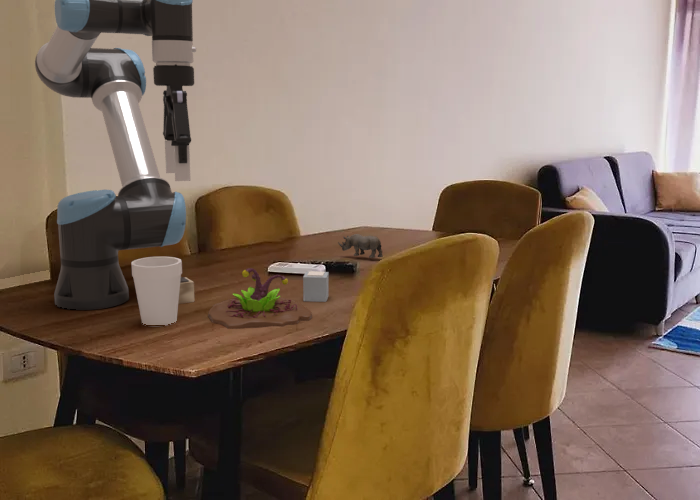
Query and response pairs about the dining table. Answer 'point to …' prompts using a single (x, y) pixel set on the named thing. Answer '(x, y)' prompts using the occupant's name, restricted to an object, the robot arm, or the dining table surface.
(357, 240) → the rhino figurine
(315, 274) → the tile block
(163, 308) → the foam cup
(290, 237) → the dining table surface
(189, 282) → the tile block
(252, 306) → the plant
